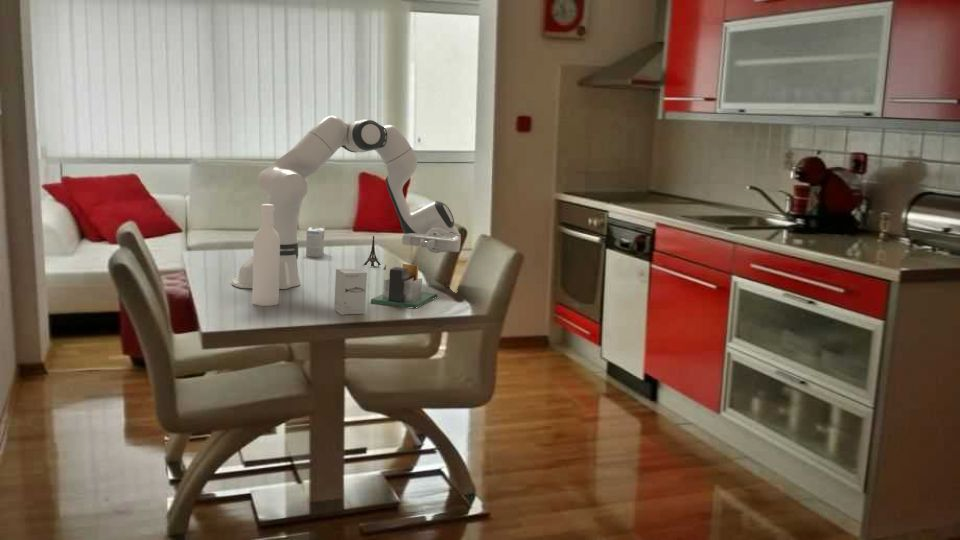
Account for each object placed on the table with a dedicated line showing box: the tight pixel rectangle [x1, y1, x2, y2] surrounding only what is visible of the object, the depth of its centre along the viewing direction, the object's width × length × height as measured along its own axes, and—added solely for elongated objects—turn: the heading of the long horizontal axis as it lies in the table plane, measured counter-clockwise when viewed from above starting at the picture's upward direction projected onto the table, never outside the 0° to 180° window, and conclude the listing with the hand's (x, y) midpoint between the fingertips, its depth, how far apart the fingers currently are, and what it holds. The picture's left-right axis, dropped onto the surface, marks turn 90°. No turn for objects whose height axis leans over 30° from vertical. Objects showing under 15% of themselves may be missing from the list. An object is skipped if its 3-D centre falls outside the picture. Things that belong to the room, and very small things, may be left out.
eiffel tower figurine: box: [363, 235, 381, 266], centre depth 339 cm, size 15×10×13 cm
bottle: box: [251, 203, 280, 307], centre depth 258 cm, size 8×8×30 cm
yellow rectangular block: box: [402, 263, 419, 281], centre depth 276 cm, size 11×5×8 cm, turn 164°
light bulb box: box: [305, 226, 325, 258], centre depth 357 cm, size 11×7×11 cm, turn 6°
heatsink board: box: [370, 266, 439, 309], centre depth 278 cm, size 21×15×11 cm
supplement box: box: [333, 268, 368, 316], centre depth 255 cm, size 7×7×13 cm
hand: (424, 243), depth 291 cm, fingers closed
